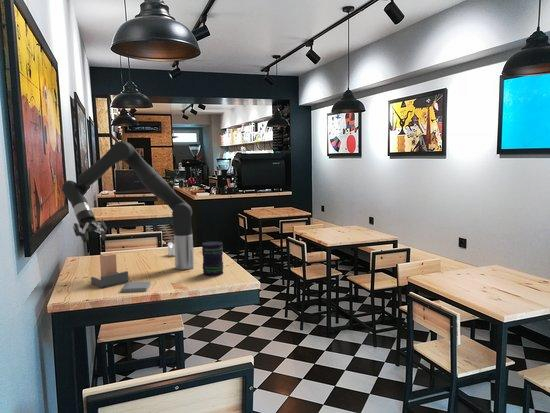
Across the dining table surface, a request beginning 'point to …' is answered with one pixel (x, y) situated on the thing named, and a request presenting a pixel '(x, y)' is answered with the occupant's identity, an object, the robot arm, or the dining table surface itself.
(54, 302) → the dining table surface
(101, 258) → the terracotta block
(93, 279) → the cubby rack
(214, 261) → the storage jar
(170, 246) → the bracket
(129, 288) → the slate pad
